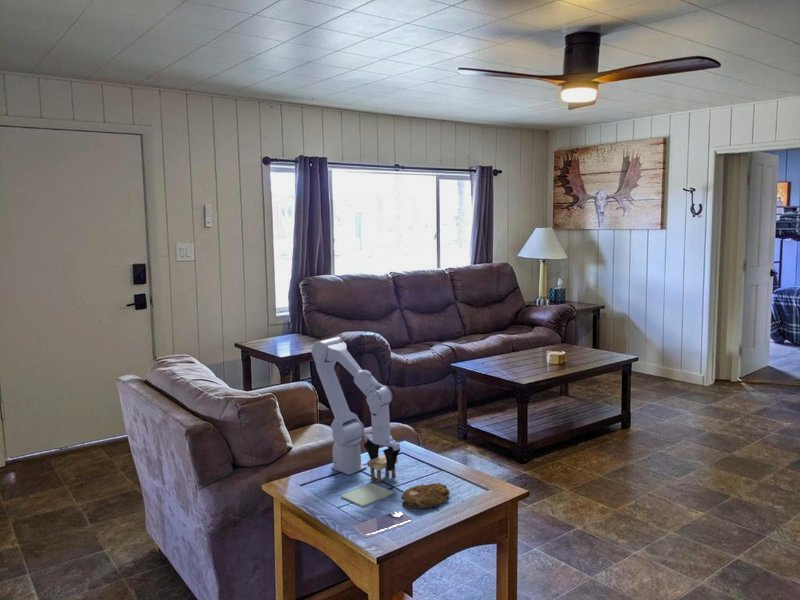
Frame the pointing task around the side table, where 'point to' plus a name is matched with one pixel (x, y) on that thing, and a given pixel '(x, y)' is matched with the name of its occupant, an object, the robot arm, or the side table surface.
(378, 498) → the mat
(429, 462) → the side table surface
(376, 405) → the robot arm
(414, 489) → the decorative rock
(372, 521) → the mobile phone
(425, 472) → the side table surface
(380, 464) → the tan block with pegs
